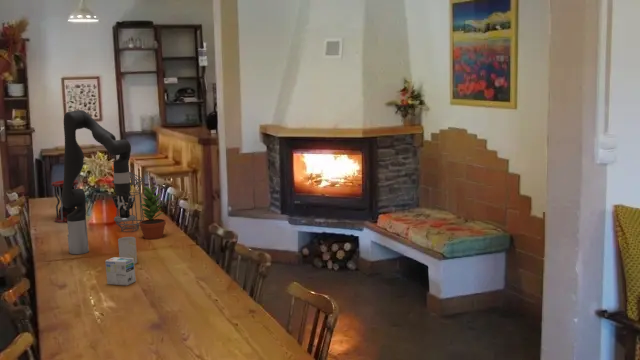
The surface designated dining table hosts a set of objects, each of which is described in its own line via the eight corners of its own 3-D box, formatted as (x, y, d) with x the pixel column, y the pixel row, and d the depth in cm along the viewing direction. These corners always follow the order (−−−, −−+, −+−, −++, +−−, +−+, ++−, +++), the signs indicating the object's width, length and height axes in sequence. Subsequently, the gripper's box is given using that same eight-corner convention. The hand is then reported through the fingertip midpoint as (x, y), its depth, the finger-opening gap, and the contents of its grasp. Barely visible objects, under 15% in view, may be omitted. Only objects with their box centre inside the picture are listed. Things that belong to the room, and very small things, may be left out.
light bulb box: (136, 281, 314) (134, 257, 313) (127, 285, 308) (125, 261, 307) (115, 279, 318) (113, 256, 316) (106, 284, 312) (104, 260, 310)
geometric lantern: (123, 227, 429) (120, 169, 424) (148, 227, 427) (145, 169, 422) (112, 232, 414) (109, 173, 409) (138, 233, 411) (135, 173, 407)
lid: (109, 220, 342) (108, 209, 341) (126, 216, 350) (125, 206, 349) (123, 222, 336) (123, 211, 335) (140, 218, 344) (139, 207, 343)
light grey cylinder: (132, 265, 342) (130, 240, 340) (116, 264, 343) (114, 240, 341) (140, 260, 349) (138, 236, 348) (124, 260, 351) (122, 236, 349)
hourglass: (50, 222, 449) (46, 183, 445) (63, 217, 465) (59, 179, 461) (73, 223, 446) (70, 183, 442) (86, 217, 462) (82, 179, 458)
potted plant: (173, 235, 403) (169, 182, 398) (153, 241, 390) (149, 187, 385) (154, 232, 411) (150, 181, 406) (134, 238, 398) (130, 185, 393)
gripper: (106, 181, 341) (109, 217, 344) (125, 183, 333) (128, 219, 336) (118, 179, 347) (121, 214, 350) (138, 181, 339) (140, 216, 342)
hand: (124, 216), depth 343 cm, fingers closed on lid, 3 cm apart
